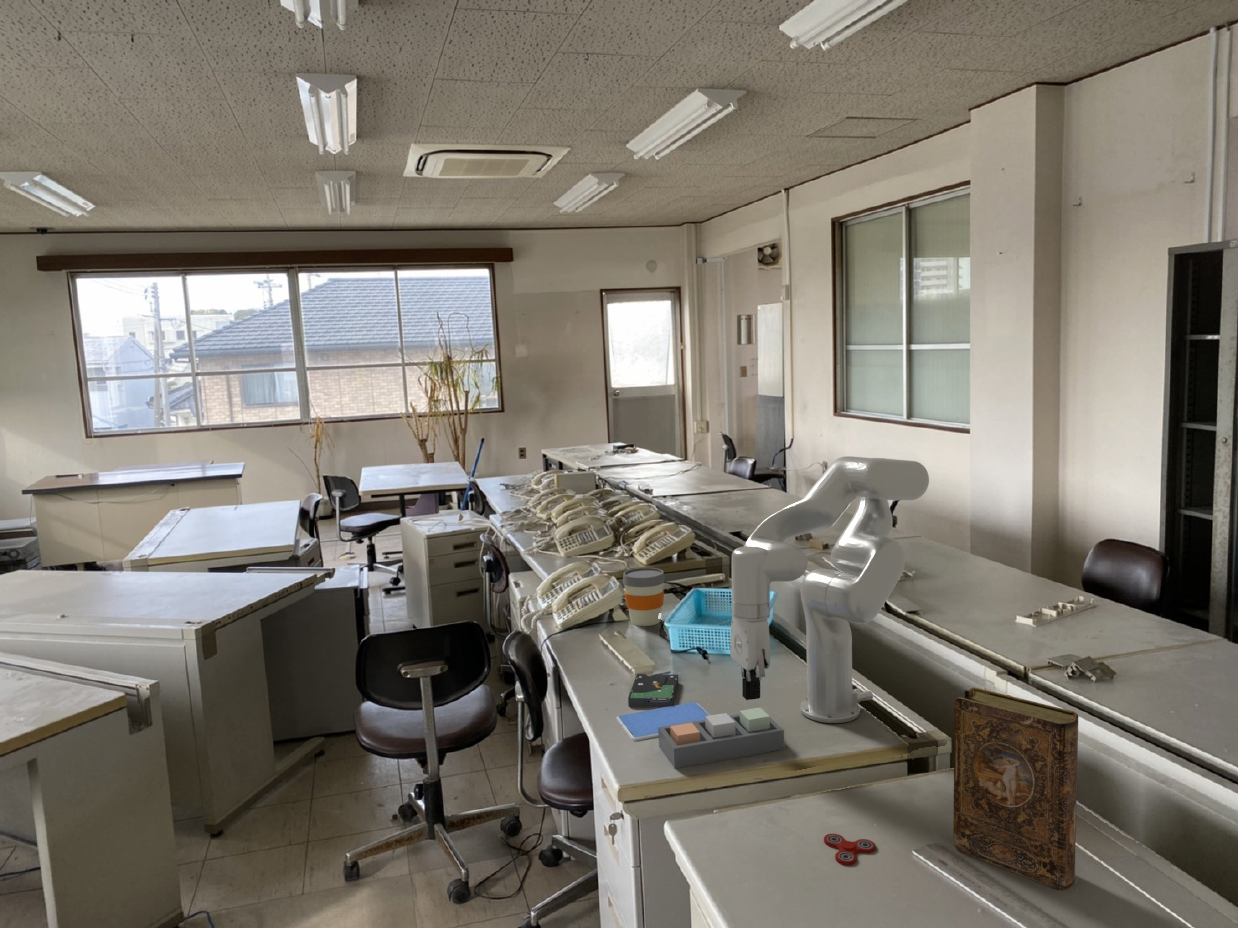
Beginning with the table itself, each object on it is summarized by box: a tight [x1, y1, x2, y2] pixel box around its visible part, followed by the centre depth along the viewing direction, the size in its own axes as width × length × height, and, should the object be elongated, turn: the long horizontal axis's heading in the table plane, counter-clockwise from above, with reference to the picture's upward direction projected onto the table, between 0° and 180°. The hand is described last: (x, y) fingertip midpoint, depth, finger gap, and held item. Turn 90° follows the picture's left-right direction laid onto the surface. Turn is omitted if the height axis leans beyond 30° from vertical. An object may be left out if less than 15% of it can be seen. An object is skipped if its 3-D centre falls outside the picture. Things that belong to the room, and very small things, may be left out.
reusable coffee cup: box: [622, 567, 666, 627], centre depth 252 cm, size 12×13×15 cm
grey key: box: [705, 712, 735, 738], centre depth 169 cm, size 5×5×2 cm
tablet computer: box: [616, 701, 711, 742], centre depth 182 cm, size 19×13×1 cm, turn 107°
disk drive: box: [627, 673, 679, 709], centre depth 197 cm, size 10×3×15 cm
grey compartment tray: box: [658, 713, 785, 769], centre depth 169 cm, size 23×10×4 cm, turn 105°
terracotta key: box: [670, 723, 700, 746], centre depth 167 cm, size 5×5×2 cm
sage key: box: [739, 707, 771, 732], centre depth 170 cm, size 5×5×2 cm
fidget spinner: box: [823, 833, 877, 867], centre depth 133 cm, size 8×7×1 cm
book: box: [952, 686, 1079, 891], centre depth 126 cm, size 16×6×25 cm, turn 45°
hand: (751, 697), depth 169 cm, fingers closed
